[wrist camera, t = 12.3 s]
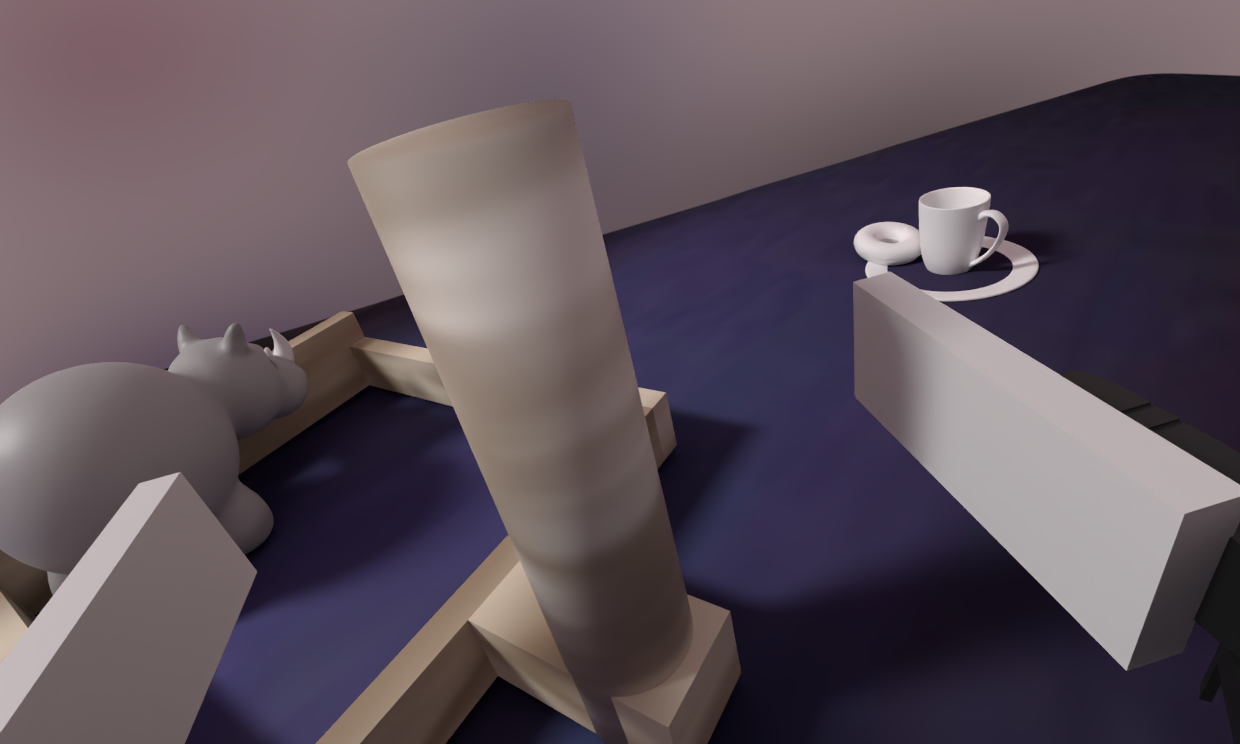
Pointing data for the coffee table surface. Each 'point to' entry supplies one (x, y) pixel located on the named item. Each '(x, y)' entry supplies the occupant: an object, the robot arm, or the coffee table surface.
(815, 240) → the coffee table surface
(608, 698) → the pull frame
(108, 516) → the chubby cartoon animal
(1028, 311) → the coffee table surface
